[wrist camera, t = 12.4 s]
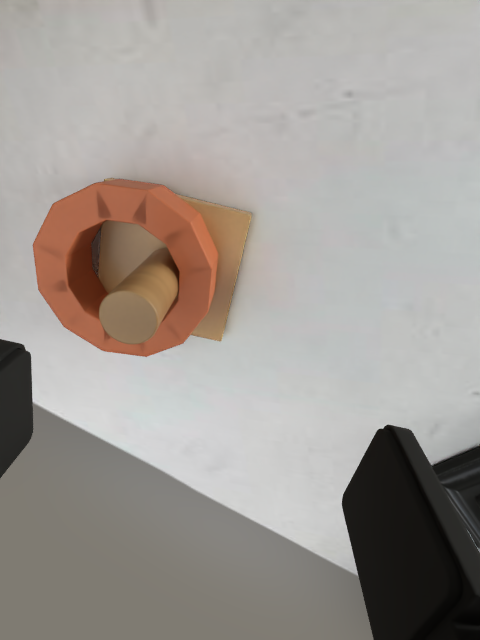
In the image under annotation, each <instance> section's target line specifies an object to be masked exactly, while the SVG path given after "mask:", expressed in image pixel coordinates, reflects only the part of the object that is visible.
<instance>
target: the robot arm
mask: <svg viewBox="0 0 480 640" xmlns="http://www.w3.org/2000/svg"><path fill="white" fill-rule="evenodd" d="M32 433H33V407H32V375H31V354H30V352H28V351H26V350H25V347H24V345H22V344H19V343H15V342H10V341H6V340H1V339H0V478H1V477H2V475H3V474H4V473H5V472H6V470H7V469H8V468H9V466H10V465H11V464H12V463H13V461H14V460H15V459H16V458H17V456H18V455H19V454H20V453H21V451H22V450H23V449H24V448H25V446H26V445H27V444H28V442H29V441H30V439H31V436H32ZM342 508H343V512H344V516H345V521H346V525H347V529H348V533H349V537H350V542H351V546H352V550H353V554H354V559H355V563H356V567H357V571H358V575H359V580H360V583H361V587H362V592H363V596H364V601H365V605H366V609H367V613H368V617H369V622H370V626H371V630H372V634H373V638H374V640H480V553H479V551H478V549H477V548H476V546H475V544H474V542H473V540H472V539H471V537H470V535H469V533H468V531H467V530H466V528H465V526H464V524H463V522H462V521H461V519H460V517H459V515H458V513H457V512H456V510H455V508H454V506H453V504H452V503H451V501H450V499H449V497H448V495H447V494H446V492H445V490H444V488H443V486H442V485H441V483H440V481H439V479H438V477H437V475H436V474H435V472H434V470H433V468H432V466H431V465H430V463H429V461H428V459H427V457H426V456H425V454H424V452H423V450H422V448H421V447H420V445H419V443H418V441H417V439H416V438H415V436H414V434H413V433H412V431H411V430H409V429H406V428H401V427H397V426H392V425H387V426H385V427H384V428H383V429H379V430H378V431H377V432H376V434H375V436H374V438H373V439H372V441H371V443H370V445H369V447H368V449H367V451H366V453H365V454H364V456H363V458H362V460H361V462H360V464H359V466H358V468H357V470H356V471H355V473H354V475H353V477H352V479H351V481H350V483H349V485H348V486H347V488H346V490H345V492H344V494H343V498H342Z"/></svg>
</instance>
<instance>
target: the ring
mask: <svg viewBox="0 0 480 640" xmlns="http://www.w3.org/2000/svg"><path fill="white" fill-rule="evenodd" d="M107 220H109V221H116V222H124V223H131V224H138V225H140V226H141V227H143V228H144V229H145V230H147V231H148V232H149V233H151V234H152V235H154V236H155V237H156V238H158V239H159V240H160V241H162V242H163V243H165V244H166V246H167V248H168V250H169V252H170V254H171V256H172V258H173V260H174V262H175V264H176V266H177V268H178V270H179V272H180V274H179V292H178V296H177V298H176V299H175V300H174V301H173V303H172V304H171V306H170V308H169V310H168V311H167V313H166V315H165V317H164V318H163V320H162V322H161V324H160V325H159V327H158V329H157V331H156V332H155V334H154V335H153V337H151V338H150V339H149V340H148V341H146V342H143V343H140V344H125V343H122V342H119V341H117V340H115V339H114V338H112V337H111V336H110V335H109V334H108V333H107V332H106V331H105V330H104V328H103V327H102V325H101V322H100V319H99V307H100V304H101V302H102V301H103V299H104V298H105V297H106V296H107V295H108V294H109V293H108V292H106V290H105V288H104V287H103V285H102V283H101V282H100V280H99V278H98V277H97V275H96V273H95V272H94V270H93V267H92V249H91V243H92V241H93V240H94V238H95V236H96V234H97V233H98V231H99V229H100V227H101V226H102V224H103V222H105V221H107ZM33 251H34V258H35V266H36V274H37V282H38V290H39V291H40V293H41V294H42V296H43V297H44V299H45V300H46V302H47V303H48V304H49V306H50V307H51V309H52V310H53V312H54V313H55V315H56V316H57V317H58V319H59V320H60V322H61V323H62V325H63V326H64V327H65V328H67V329H68V330H70V331H71V332H73V333H75V334H76V335H78V336H80V337H81V338H83V339H84V340H86V341H88V342H89V343H91V344H93V345H94V346H96V347H97V348H99V349H101V350H103V351H107V352H114V353H122V354H130V355H137V356H145V357H147V356H149V355H152V354H155V353H158V352H160V351H163V350H166V349H169V348H172V347H174V346H177V345H180V344H183V343H184V342H185V340H186V339H187V338H188V337H189V335H190V334H191V333H192V332H193V330H194V329H195V328H196V327H197V325H198V324H199V323H200V322H201V320H202V319H203V318H204V317H205V315H206V314H207V313H208V311H209V308H210V304H211V301H212V298H213V295H214V291H215V281H216V271H217V261H218V252H217V250H216V247H215V245H214V243H213V241H212V239H211V236H210V234H209V232H208V230H207V227H206V225H205V223H204V221H203V218H202V216H201V214H200V213H199V212H198V211H197V210H195V209H194V208H193V207H191V206H190V205H189V204H187V203H186V202H185V201H183V200H182V199H181V198H180V197H178V196H177V195H176V194H174V193H173V192H172V191H170V190H169V189H168V188H167V187H165V186H164V185H159V184H152V183H145V182H138V181H131V180H123V179H116V180H110V181H104V182H98V183H94V184H92V185H90V186H88V187H86V188H84V189H82V190H80V191H78V192H76V193H73V194H71V195H69V196H67V197H65V198H63V199H61V200H59V201H57V202H55V203H54V204H53V205H52V207H51V209H50V211H49V213H48V215H47V217H46V219H45V221H44V223H43V225H42V227H41V229H40V231H39V233H38V235H37V237H36V239H35V241H34V243H33Z"/></svg>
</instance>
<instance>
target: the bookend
mask: <svg viewBox="0 0 480 640" xmlns="http://www.w3.org/2000/svg"><path fill="white" fill-rule="evenodd" d="M432 468H433V470H434V472H435V474H436V475H437V477H438V479H439V481H440V483H441V485H442V486H443V488H444V490H445V492H446V494H447V495H448V497H449V499H450V501H451V503H452V504H453V506H454V508H455V510H456V512H457V513H458V515H459V517H460V519H461V521H462V522H463V524H464V526H465V528H466V529H467V530H468V531H469V533H470V534H471V536H472V538H473V540H474V542H475V544H476V546H477V547H478V548H480V447H479V448H476V449H474V450H472V451H469V452H467V453H465V454H462V455H460V456H458V457H455V458H453V459H450V460H448V461H445V462H443V463H441V464H439V465H436V466H434V467H432Z"/></svg>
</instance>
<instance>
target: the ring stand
mask: <svg viewBox="0 0 480 640" xmlns="http://www.w3.org/2000/svg"><path fill="white" fill-rule="evenodd" d="M110 180H116V179H114V178H108V179H104V181H110ZM176 195H177V196H178V197H180V198H181V199H182V200H183V201H185V202H186V203H187V204H189V205H190V206H191V207H193V208H194V209H195V210H197V211H198V212H199V213H200V214H201V216H202V218H203V221H204V223H205V225H206V227H207V230H208V232H209V234H210V236H211V239H212V241H213V243H214V245H215V247H216V250H217V252H218V261H217V271H216V281H215V291H214V295H213V298H212V301H211V304H210V308H209V311H208V313H207V314H206V315H205V317H204V318H203V319H202V320H201V322H200V323H199V324H198V325H197V327H196V328H195V329H194V330H193V332H192V333H191V334H190V335H194V336H199V337H203V338H208V339H212V340H217V341H222V337H223V332H224V328H225V324H226V320H227V316H228V312H229V307H230V303H231V299H232V295H233V291H234V287H235V283H236V278H237V274H238V270H239V266H240V262H241V258H242V253H243V249H244V245H245V241H246V237H247V233H248V229H249V224H250V220H251V215H252V214H251V213H250V212H246V211H242V210H238V209H234V208H230V207H226V206H222V205H218V204H214V203H210V202H206V201H202V200H198V199H194V198H190V197H186V196H182V195H178V194H176ZM179 274H180V272H179V270H178V268H177V266H176V264H175V262H174V260H173V258H172V256H171V254H170V252H169V250H168V248H167V246H166V244H165V243H163V242H162V241H160V240H159V239H158V238H156V237H155V236H154V235H152V234H151V233H149V232H148V231H147V230H145V229H144V228H143V227H141V226H140V225H138V224H131V223H124V222H116V221H109V220H107V221H105V222H103V224H102V226H101V238H100V254H99V271H98V278H99V280H100V282H101V283H102V285H103V287H104V288H105V290H106V292H108V293H109V294H108V295H107V296H106V297H105V298H104V299H103V301H102V302H101V304H100V307H99V319H100V322H101V325H102V327H103V328H104V330H105V331H106V332H107V333H108V334H109V335H110V336H111V337H112V338H114V339H115V340H117V341H119V342H122V343H125V344H140V343H143V342H146V341H148V340H149V339H150V338H151V337H153V335H154V334H155V332H156V331H157V329H158V327H159V325H160V324H161V322H162V320H163V318H164V317H165V315H166V313H167V311H168V310H169V308H170V306H171V304H172V303H173V301H174V300H175V299H176V298H177V296H178V292H179Z"/></svg>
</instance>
